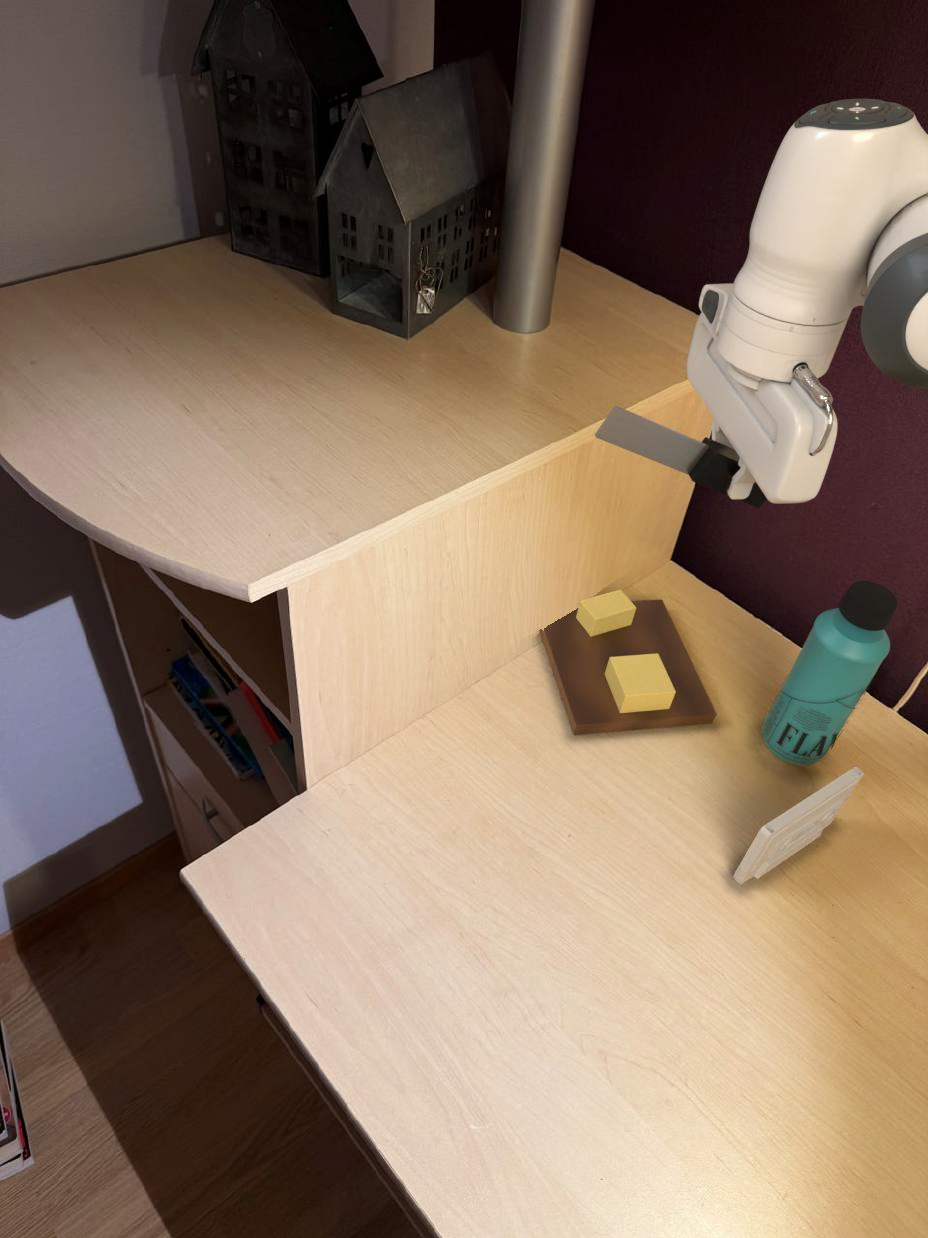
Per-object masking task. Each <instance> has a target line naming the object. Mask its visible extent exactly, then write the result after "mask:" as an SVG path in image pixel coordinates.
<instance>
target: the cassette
mask: <svg viewBox="0 0 928 1238" xmlns="http://www.w3.org/2000/svg"><path fill="white" fill-rule="evenodd" d="M863 776H865V772H864V771H862V770H861V769H860V768H859V767H858V766H857V765H855V766H854V767H853V768H850V769H849V770H848V771H846V772H845V773H843V774H842V775H840V776H838V777H837V778H835V779H834V780H832V781H831V782H829V783H827V784H826V785H824V786H822V787H821V788H819V790H816V791H815V792H813V793H812V794H810V795H809V796H807V797H805V798H804V799H803V800H801V801H799V802H798V803H797V804H795V805H793V806H792V807H790V808H789V809H787V810H786V811H784V812H782V813H781V814H779V815H778V816H777V817H775V818H773V819H772V820H770V821H768V822H767V823H765V824H764V825H762V826H761V828H759V830H758V832H757V834H756V836H755V838H754V839H753V841H752V842H751V844H750V846H749V848H748V849H747V850H746V853H745V855H744V856H743V858H742V860H741V861H740V863H739V864H738V867H737V868H736V870H735V872H734V873H733V875H732V878H733V880H735V882H736V883H738V885H740V886H741V885H743V884H744V883H746V882H747V881H749V880H751V879H752V878H755V879H757V880H759V879H760V878H762V877H763V876H765V875H766V874H767V873H769V872H770V871H772V870H773V869H774V868H776V867H778V866H779V865H780V864H782V863H784V862H785V861H786V860H788V859H789V858H790V857H792V856H793V855H795V854H796V853H798V852H799V851H801V850H802V849H804V848H805V847H807V846H808V845H810V844H811V843H813V842H814V841H816V840H817V839H818V838H820V837H821V835H822V834H823V830H825V829H826V827H828V826H830V825H832V823H833V822H834V820H835V819H836V817H837V815H838V814H839V812H840V811H841V810H842V808H843V806H844V805H845V804H846V802H847V801H848V799H849V798H850V796H851V795H852V793H853V792H854V790H855V788H856V787H857V785H858V784H859V783H860V781H861V780H862V778H863Z"/></svg>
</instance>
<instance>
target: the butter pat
mask: <svg viewBox="0 0 928 1238" xmlns="http://www.w3.org/2000/svg"><path fill="white" fill-rule="evenodd" d="M631 601H632V600H631V599H630V598H629V597H628V596H627V595H626V593H625V592H624V591H623V590H622V589H621V588H620V589H617V590H613V591H610V592H605V593H602V594H599V595H594V596H591V597H587V598H584V599H580V600H579V603H578V604H579V608H578V612H577V616H576V618H577V620H578V621H579V622H580V624H581V625H582V626H583V627H584V629H585V630H586V631H587V633H588V634H589V635H590V636H591V637H592V636H595V635H599V634H602V633H605V632H609V631H612V630H615V629H619V628H622V627H625V626H629V625H631V624H632V620H633V617H634V614H635V611H636V607H635V605H634V604H633V603H632V602H631Z"/></svg>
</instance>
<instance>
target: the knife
mask: <svg viewBox="0 0 928 1238" xmlns="http://www.w3.org/2000/svg"><path fill="white" fill-rule="evenodd" d="M594 437H595V438H596V439H598V440H602V441H603V442H606V443H609V444H611V445H613V446H617V447H619V448H621V449H624V450H626V451H628V452H630V453H633V454H636V455H638V456H640V457H643V458H646V459H649V460H651V461H653V462H656V463H658V464H660V465H663V466H666V467H668V468H669V469H670V468H671V469H673V470H675V471H678V472H681V473H683V474H685V475H688V476H689V478H690V480H691V482H693V483H696V484H698V485H701V486H703V487H705V488H708V489H711V490H713V491H715V492H718V493H720V494H723V495H725V496H728V497H729V495H728V494H727V492H726V490H725V488H724V485H725V483H726V479H727V476H728V473H737V472H738V471H739V470H740V468H741V467H740V466H739V465H738V462H739V459H740V457H739V455H738V454H737V452H736V451H735V449H732V448H730V447H728V446H725V445H723V444H721V443H718V442H716V441H714V440H712V438H709V437H707V436H705V437H704V438H703V439H702V441H700V440H698V439H696V438H693V437H690V436H688V435H686V434H684V433H681V432H680V431H679V432H678V431H676V430H675V429H672V428H670V427H667V426H665V425H662V424H660V423H659V422H655V421H654V420H651V419H649V418H646V417H643V416H641V415H639V414H636V412H635V413H634V412H633V411H630V410H628V409H625V408H622V407H621V406H618V405H614V406H613V407H612V409H611V410H610V412H609V413H608V415H607V416H606V418H605V419H604V421H603V422H602V423H601V425H600V426H599V428H598V429H597V431H596V432H595V433H594ZM737 500H738V501H740V502H743V503H746V504H747V505H750V506H752V507H754V508H757V509H761V507H762V506H763V504H764V503H765V502H767V501H768V499H767V498H766V496H765V495H764V493H763V492H762V490H761V489H760V487H759V486H758V484H757V483H756V482H755V483H754V484H753V486H752V489H751V492H750V494H749V496H748V497H747V498H745V499H737Z"/></svg>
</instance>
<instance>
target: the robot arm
mask: <svg viewBox="0 0 928 1238" xmlns="http://www.w3.org/2000/svg"><path fill="white" fill-rule="evenodd" d="M783 137H784V138H783V139H782V141H781V143H780V145H779V147H778V149H777V151H776V153H775V156H774V158H773V161H772V163H771V166H770V168H769V171H768V173H767V176H766V179H765V182H764V183H763V187H762V190H761V192H760V196H759V199H758V202H757V205H756V208H755V210H754V215H753V218H752V221H751V225H750V229H749V246H748V252H747V256H746V258H745V261H744V263H743V266H742V267H741V269H740V270H739V272H738V273H737V275H736V277H735V278H734V281H733V282H732V283H731V282H730V283H708V284H705V285H703V287H702V289H701V292H700V295H699V301H698V308H699V310H700V314H699V315H698V317H697V320H696V322H695V326H694V330H693V332H692V337H691V341H690V345H689V350H688V355H687V360H686V373H687V375H686V376H687V380H688V382H689V383H690V384H691V387H692V388H693V389H694V391H695V392H696V394H697V396H699V398H700V400H701V401H702V402H703V404H704V406H705V407H706V409H707V410H708V412H709V414H710V415H711V416H712V418H713V420H712V423H711V440H714V441H716V442H718V443H721V444H723V445H725V446H728V447H730V448H732V449H735V451H736V452H737V454H738V455H739V457H740V459H739V462H738V465H739V466H740V467H741V468H740V470H739V471H738V472H737V473H728V476H727V479H726V483H725V485H724V488H725V490H726V492H727V494H728V495H729V496H728V495H727V496H728V497H729V499H730V500H738V499H745V498H747V497H748V496H749V494H750V492H751V489H752V486H753V484H754V483H755V482H756V483H757V484H758V486H759V487H760V489H761V490H762V492H763V493H764V495H765V496H766V498H767V501H768V502H770V503H771V504H776V505H777V504H778V505H783V504H787V505H788V504H789V505H790V504H802V503H807V502H809V501H811V500H813V499H815V498H816V497H817V495H818V494H819V492H820V490H821V488H822V485H823V481H824V479H825V476H826V474H827V470H828V467H829V465H830V461H831V459H832V455H833V452H834V447H835V444H836V441H837V437H838V418H837V415H836V413H835V410H834V409H833V406H832V404H833V402H834V398H833V395H832V394H831V392H830V390H828V388H826V387H825V386H823V385H822V383H821V382H820V380H819V378H822V377H823V376H824V375H825V374H826V373H827V371H828V370H829V368H830V366H831V363H832V360H833V359H834V355H835V353H836V351H837V348H838V346H839V342H840V340H841V339H842V335H843V332H844V330H845V328H846V326H847V322H848V320H849V318H850V315H851V313H852V311H853V309H854V308H856V307H860V306H861V307H862V311H861V316H860V317H861V318H860V333H861V340H862V343H863V346H864V349H865V351H866V353H867V355H868V356H869V358H870V360H871V361H872V362H873V363H874V365H875V366H876V367H877V368H878V369H879V370H880V371H881V372H882V373H883V374H884V375H886V376H887V377H889V378H891V379H892V380H894V381H895V382H898V383H899V384H903V385H904V386H906V387H907V386H908V387H910V388H915V389H919V390H923V391H925V390H926V391H928V133H927V132H926V131H925V130H924V129H923V127H922V126H921V124H920V123H919V121H918V119H917V116H916V115H915V113H914V112H913V111H912V109H910V108H909V107H907V106H904V105H902V104H900V103H897V102H892V101H891V102H890V101H884V100H883V99H875V98H850V99H848V98H847V99H840V100H834V101H833V100H832V101H830V102H828V103H824V104H820V105H816V106H815V107H813V108H811V109H809V110H808V111H806V112H805V113H804V114H802V115H801V116H800V117H798V118H797V119H796V120H795V122H794V123H793V124H792V125H791V126H790V128H788V131H787V132H786V134H785V135H784V136H783Z"/></svg>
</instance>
